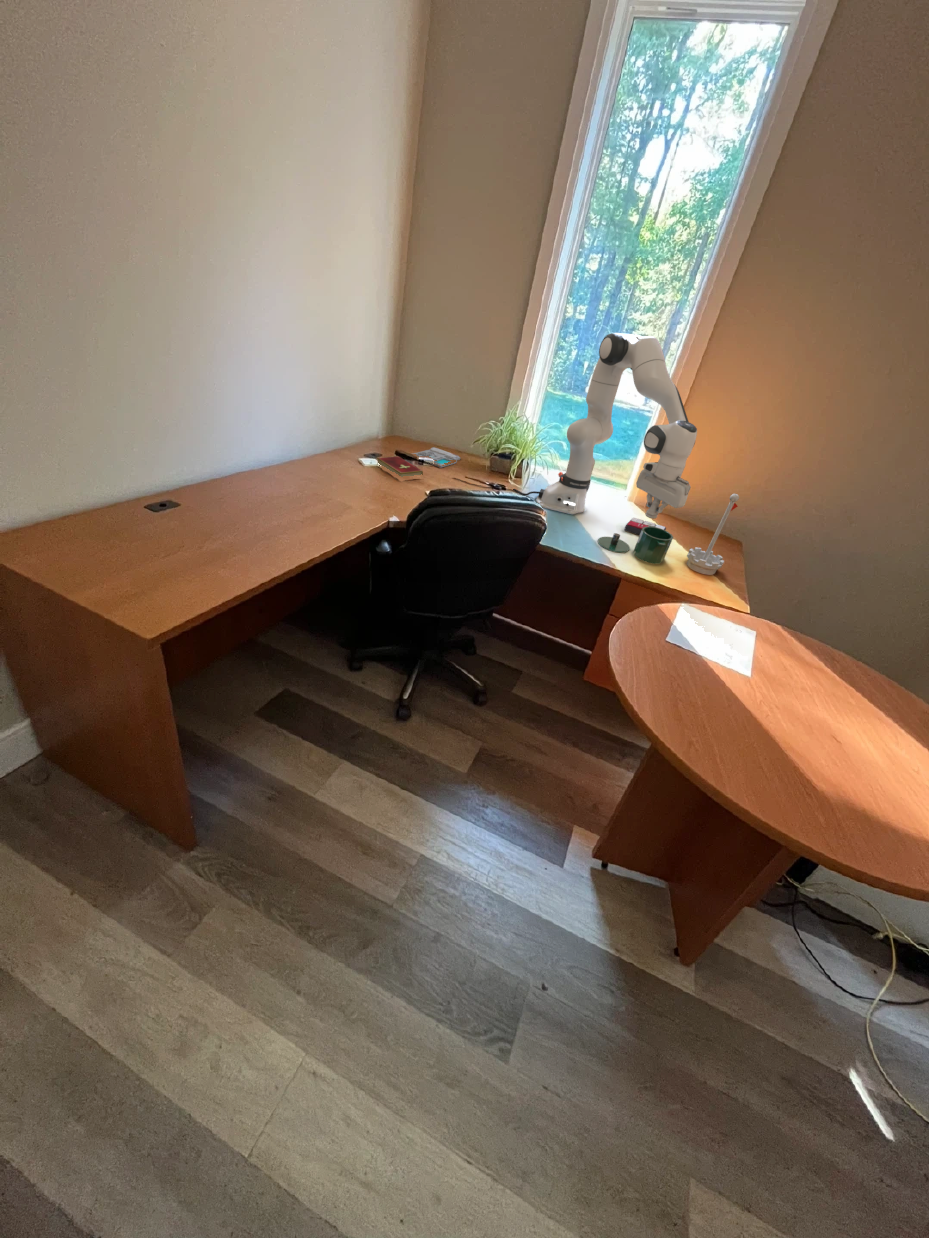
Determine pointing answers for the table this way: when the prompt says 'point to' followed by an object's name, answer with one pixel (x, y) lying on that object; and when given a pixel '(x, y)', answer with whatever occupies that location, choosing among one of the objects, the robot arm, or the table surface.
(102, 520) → the table surface
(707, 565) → the flag stand
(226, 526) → the table surface
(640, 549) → the tin
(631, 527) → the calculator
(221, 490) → the table surface
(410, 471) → the hardcover book
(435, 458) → the office telephone
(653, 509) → the rook chess piece
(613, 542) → the tin lid
